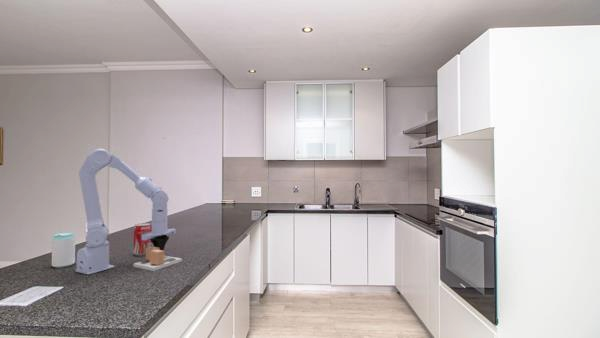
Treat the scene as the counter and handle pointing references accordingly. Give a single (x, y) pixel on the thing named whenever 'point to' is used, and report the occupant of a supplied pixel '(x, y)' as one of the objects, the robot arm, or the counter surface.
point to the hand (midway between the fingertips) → (159, 254)
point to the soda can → (138, 242)
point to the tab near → (156, 257)
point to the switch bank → (153, 267)
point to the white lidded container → (63, 250)
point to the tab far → (150, 250)
